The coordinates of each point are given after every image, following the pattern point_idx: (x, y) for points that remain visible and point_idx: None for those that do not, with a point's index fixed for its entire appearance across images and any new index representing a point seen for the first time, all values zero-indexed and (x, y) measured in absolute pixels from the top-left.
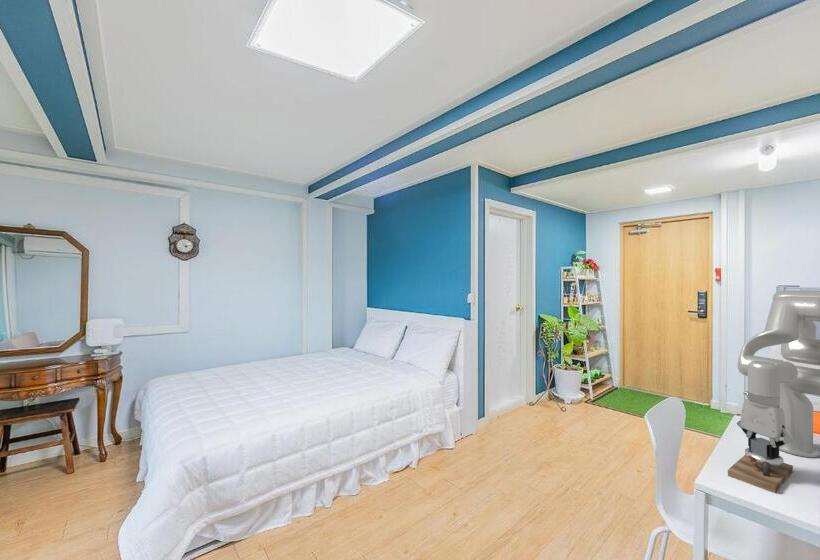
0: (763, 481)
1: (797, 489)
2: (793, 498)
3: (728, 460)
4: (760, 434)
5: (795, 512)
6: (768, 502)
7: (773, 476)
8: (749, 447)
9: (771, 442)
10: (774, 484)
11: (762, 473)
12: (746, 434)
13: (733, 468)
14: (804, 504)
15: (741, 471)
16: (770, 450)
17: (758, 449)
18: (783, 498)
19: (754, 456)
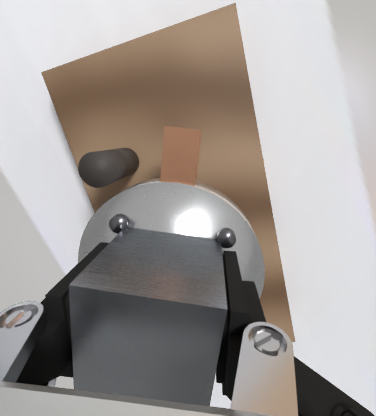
0: (88, 70)
1: (68, 210)
2: (22, 113)
3: (315, 211)
4: (44, 387)
5: None
6: None
7: (112, 184)
8: (234, 259)
9: (14, 338)
10: (57, 94)
11: (144, 165)
12: (292, 355)
13: (230, 62)
14: None
15: (192, 71)
16: (76, 272)
17: (164, 253)
18: (27, 67)
19: (171, 188)
